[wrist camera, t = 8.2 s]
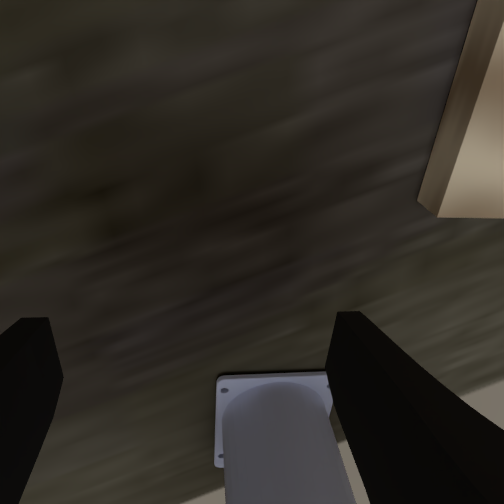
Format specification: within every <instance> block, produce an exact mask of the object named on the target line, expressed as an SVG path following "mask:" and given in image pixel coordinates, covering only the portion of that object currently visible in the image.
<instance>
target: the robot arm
mask: <svg viewBox="0 0 504 504" xmlns="http://www.w3.org/2000/svg"><path fill="white" fill-rule="evenodd" d="M325 370H326V371H322V372H297V373H272V374H247V375H224V376H221V377H219V378H218V379H217V382H216V416H215V449H214V465H215V466H216V467H218V468H223V467H224V479H225V496H226V497H225V498H226V504H356V501H355V498H354V495H353V492H352V489H351V486H350V482H349V480H348V476H347V473H346V470H345V467H344V464H343V461H342V458H341V454H340V451H339V448H338V445H337V442H336V439H335V436H334V432H333V429H332V426H331V423H330V420H329V416H330V412H331V408H332V404H333V403H334V406H335V409H336V412H337V414H338V417H339V420H340V423H341V425H342V428H343V431H344V433H345V436H346V439H347V441H348V444H349V447H350V449H351V452H352V455H353V457H354V460H355V463H356V465H357V468H358V471H359V473H360V476H361V478H362V481H363V484H364V487H365V489H366V492H367V495H368V498H369V501H370V504H504V430H503V429H501V428H500V427H498V426H497V425H496V424H494V423H493V422H491V421H490V420H488V419H487V418H486V417H484V416H483V415H481V414H480V413H479V412H477V411H476V410H475V409H473V408H472V407H470V406H469V405H468V404H466V403H465V402H464V401H463V400H461V399H460V398H459V397H458V396H456V395H455V394H454V393H453V392H451V391H450V390H449V389H448V388H446V387H445V386H444V385H443V384H441V383H440V382H439V381H438V380H437V379H435V378H434V377H433V376H432V375H431V374H429V373H428V372H427V371H426V370H425V369H424V368H422V367H421V366H420V365H419V364H418V363H417V362H415V361H414V360H413V359H412V358H411V357H410V356H409V355H408V354H406V353H405V352H404V351H403V350H402V349H401V348H400V347H399V346H398V345H396V344H395V343H394V342H393V341H392V340H391V339H390V338H389V337H388V336H387V335H385V334H384V333H383V332H382V331H381V330H380V329H379V328H378V327H377V326H376V325H375V324H374V323H372V322H371V321H370V320H369V319H368V318H367V317H366V316H365V315H363V314H362V313H361V312H360V311H348V312H337V316H336V321H335V325H334V329H333V334H332V338H331V343H330V347H329V351H328V356H327V360H326V365H325ZM63 378H64V377H63V373H62V369H61V365H60V361H59V357H58V353H57V349H56V345H55V342H54V338H53V334H52V330H51V326H50V322H49V318H48V317H40V318H21V319H19V320H18V321H17V322H15V323H14V324H13V325H12V326H11V327H9V328H8V329H7V330H6V331H5V332H3V333H2V334H1V335H0V504H19V501H20V499H21V496H22V494H23V491H24V489H25V486H26V484H27V482H28V479H29V477H30V474H31V472H32V469H33V467H34V464H35V462H36V459H37V457H38V454H39V452H40V449H41V447H42V444H43V442H44V439H45V437H46V434H47V432H48V429H49V427H50V424H51V422H52V419H53V416H54V412H55V409H56V405H57V401H58V398H59V394H60V390H61V386H62V382H63Z"/></svg>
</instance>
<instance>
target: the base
mask: <svg viewBox="0 0 504 504" xmlns="http://www.w3.org/2000/svg"><path fill="white" fill-rule="evenodd" d="M417 201H418V202H419V203H420V204H422V205H423V206H424V207H425V208H426V209H428V210H429V211H430V212H431V213H432V214H434V215H435V216H436V217H448V218H504V0H478V1H477V4H476V7H475V10H474V14H473V17H472V20H471V24H470V27H469V30H468V34H467V37H466V40H465V43H464V47H463V50H462V53H461V57H460V60H459V63H458V67H457V70H456V73H455V76H454V80H453V83H452V86H451V90H450V93H449V96H448V100H447V103H446V106H445V109H444V113H443V116H442V119H441V123H440V126H439V129H438V133H437V136H436V139H435V142H434V146H433V149H432V152H431V156H430V159H429V162H428V166H427V169H426V172H425V175H424V179H423V182H422V185H421V189H420V192H419V195H418V198H417Z"/></svg>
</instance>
